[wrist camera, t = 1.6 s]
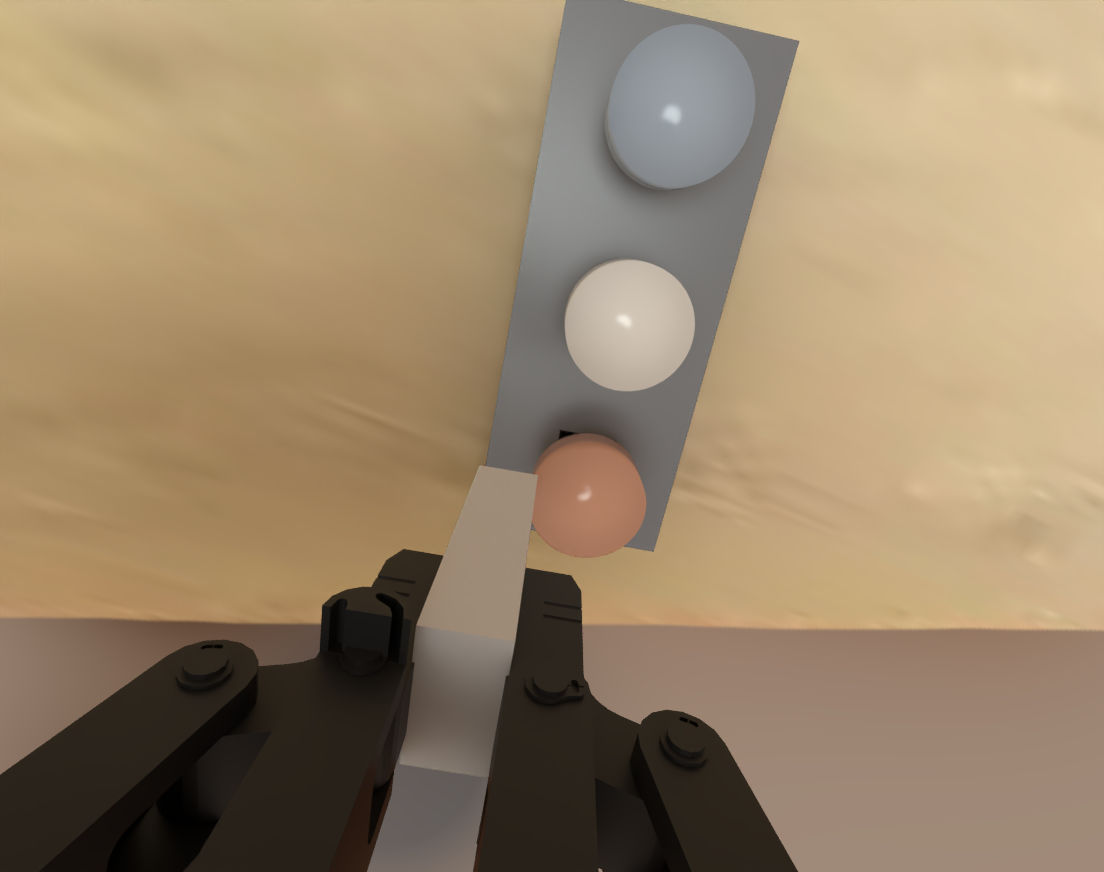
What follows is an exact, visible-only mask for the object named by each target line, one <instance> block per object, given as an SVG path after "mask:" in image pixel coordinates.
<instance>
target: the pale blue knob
mask: <svg viewBox="0 0 1104 872" xmlns="http://www.w3.org/2000/svg"><path fill="white" fill-rule="evenodd" d="M754 112H755V88H754V81H753V78H752V74H751V71H750V68H749V66H748V64H747V61H746V60H745V58H744V56H743V55H742V53H741V52H740V50H739V49H738V48H737V47H736V45H735V44H734V43H733V42H732V41H730V40H729V39H728V38H727V37H726V36H724V35H723V34H721V33H720V32H718V31H716V30H714V29H712V28H709V27H705V26H702V25H696V24H680V25H673V26H670V27H667V28H663V29H661V30H659V31H657V32H655V33H653V34H651V35H650V36H648V37H647V38H645V39H644V40H643V41H642V42H641V43H639V44H638V45H637V46H636V47H635V48H634V49H633V50H632V52H631V53H630V54H629V55H628V57H627V58H626V60H625V61H624V62H623V64H622V66H621V68H620V70H619V72H618V74H617V77H616V79H615V82H614V84H613V87H612V89H611V92H610V94H609V97H608V101H607V105H606V111H605V135H606V139H607V144H608V147H609V149H610V152H611V154H612V156H613V158H614V160H615V162H616V163H617V165H618V166H619V168H620V169H621V170H622V171H623V172H624V173H625V174H626V175H627V176H628V177H629V178H631V179H632V180H633V181H635V182H636V183H638V184H640V185H642V186H644V187H647V188H650V189H654V190H661V191H672V190H679V189H682V188H686V187H689V186H692V185H695V184H699V183H701V182H704V181H706V180H708V179H710V178H712V177H713V176H715V175H717V174H718V173H719V172H721V171H722V170H723V169H725V168H726V167H727V166H728V165H729V164H730V163H731V162H732V161H733V159H734V158H735V157H736V156H737V154H738V153H739V152H740V150H741V148H742V147H743V145H744V143H745V141H746V139H747V137H748V135H749V132H750V129H751V126H752V122H753V118H754Z"/></svg>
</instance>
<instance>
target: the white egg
mask: <svg viewBox="0 0 1104 872" xmlns="http://www.w3.org/2000/svg"><path fill="white" fill-rule="evenodd" d="M564 325H565V336H566V342H567V346H568V350H569V352H570V355H571V357H572V359H573V360H574V362H575V364H576V365H577V367H578V368H579V369H580V370H581V371H582V372H583V373H584V374H585V375H586V376H587V377H588V378H589V379H591V380H592V381H593V382H595V383H597V384H599V385H601V386H603V387H606V388H609V389H612V390H617V391H638V390H643V389H646V388H649V387H652V386H654V385H657V384H658V383H660V382H662V381H664V380H665V379H666V378H668V377H669V376H670V375H672V374H673V373H674V372H675V371H676V370H677V369H678V367H679V366H680V365H681V364H682V362H683V361H684V359H685V358H686V356H687V354H688V352H689V350H690V347H691V345H692V342H693V337H694V332H695V315H694V310H693V306H692V303H691V300H690V298H689V296H688V294H687V292H686V290H685V289H684V287H683V286H682V284H681V283H680V282H679V281H678V280H677V279H676V278H675V277H674V276H673V275H671V274H670V273H669V272H667V271H666V270H664V269H662V268H660V267H658V266H656V265H653V264H651V263H648V262H645V261H642V260H638V259H631V258H621V259H614V260H610V261H606V262H604V263H602V264H599V265H597V266H596V267H594V268H592V269H591V270H590V271H588V272H587V273H586V274H585V275H584V276H583V277H582V278H581V279H580V280H579V281H578V282H577V284H576V285H575V286H574V288H573V290H572V292H571V293H570V296H569V298H568V301H567V305H566V308H565V316H564Z"/></svg>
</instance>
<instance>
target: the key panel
mask: <svg viewBox="0 0 1104 872" xmlns="http://www.w3.org/2000/svg"><path fill="white" fill-rule="evenodd" d="M680 24H696V25H702V26H705V27H709V28H712V29H714V30H716V31H718V32H720V33H721V34H723V35H724V36H726V37H727V38H728V39H729V40H730V41H732V42H733V43H734V44H735V45H736V47H737V48H738V49H739V50H740V52H741V53H742V55H743V56H744V58H745V60H746V61H747V64H748V66H749V68H750V71H751V74H752V78H753V81H754V88H755V112H754V118H753V122H752V126H751V129H750V132H749V135H748V137H747V139H746V141H745V143H744V145H743V147H742V148H741V150H740V152H739V153H738V154H737V156H736V157H735V158H734V159H733V161H732V162H731V163H730V164H729V165H728V166H727V167H726V168H725V169H723V170H722V171H721V172H719V173H718V174H717V175H715V176H713V177H712V178H710V179H708V180H706V181H704V182H701V183H699V184H695V185H692V186H689V187H686V188H682V189H679V190H672V191H661V190H654V189H650V188H647V187H644V186H642V185H640V184H638V183H636V182H635V181H633V180H632V179H631V178H629V177H628V176H627V175H626V174H625V173H624V172H623V171H622V170H621V169H620V168H619V166H618V165H617V163H616V162H615V160H614V158H613V156H612V154H611V152H610V149H609V147H608V144H607V139H606V135H605V111H606V105H607V101H608V97H609V94H610V92H611V89H612V87H613V84H614V82H615V79H616V77H617V74H618V72H619V70H620V68H621V66H622V64H623V62H624V61H625V60H626V58H627V57H628V55H629V54H630V53H631V52H632V50H633V49H634V48H635V47H636V46H637V45H638V44H639V43H641V42H642V41H643V40H644V39H645V38H647V37H648V36H650V35H651V34H653V33H655V32H657V31H659V30H661V29H663V28H667V27H670V26H673V25H680ZM798 44H799V41H797V40H793V39H788V38H784V37H780V36H775V35H771V34H767V33H762V32H758V31H754V30H749V29H745V28H741V27H736V26H732V25H728V24H723V23H719V22H715V21H710V20H706V19H702V18H697V17H693V16H689V15H684V14H680V13H676V12H672V11H667V10H663V9H659V8H654V7H650V6H646V5H641V4H637V3H633V2H628V1H624V0H566V3H565V8H564V14H563V20H562V26H561V32H560V37H559V43H558V49H557V55H556V60H555V66H554V72H553V78H552V84H551V89H550V95H549V101H548V107H547V113H546V118H545V124H544V130H543V136H542V141H541V147H540V153H539V159H538V165H537V170H536V176H535V182H534V188H533V194H532V199H531V205H530V211H529V217H528V223H527V228H526V234H525V240H524V246H523V251H522V257H521V263H520V269H519V275H518V280H517V286H516V292H515V298H514V304H513V309H512V315H511V321H510V327H509V333H508V338H507V344H506V350H505V356H504V361H503V367H502V373H501V379H500V385H499V390H498V396H497V402H496V408H495V414H494V419H493V425H492V431H491V437H490V443H489V448H488V454H487V460H486V466H488V467H494V468H500V469H505V470H511V471H517V472H523V473H529V474H532V473H533V469H534V467H535V464H536V462H537V460H538V459H539V457H540V456H541V454H542V453H543V452H544V451H545V450H546V449H547V448H548V447H549V446H550V445H552V444H553V443H555V442H556V441H558V440H560V439H562V438H563V437H564V436H565V435H566V434H567V433H568V432H574V433H580V434H581V433H591V434H598V435H602V436H605V437H608V438H610V439H612V440H614V441H616V442H617V443H619V444H620V445H621V446H623V447H624V448H625V449H626V450H627V451H628V453H629V454H630V455H631V457H632V458H633V460H634V462H635V464H636V467H637V469H638V472H639V475H640V478H641V481H642V484H643V487H644V491H645V495H646V512H645V517H644V520H643V523H642V525H641V527H640V529H639V530H638V532H637V533H636V535H635V536H634V537H633V538H632V539H631V540H630V541H629V542H628V543H627V544H626V545H624V547H630V548H635V549H641V550H647V551H652V552H654V548H655V545H656V541H657V538H658V534H659V531H660V527H661V524H662V520H663V517H664V513H665V510H666V506H667V503H668V499H669V496H670V492H671V489H672V485H673V482H674V478H675V475H676V471H677V468H678V464H679V461H680V457H681V454H682V450H683V447H684V443H685V440H686V436H687V433H688V429H689V426H690V422H691V419H692V415H693V412H694V408H695V405H696V401H697V398H698V394H699V391H700V387H701V384H702V380H703V377H704V373H705V370H706V366H707V363H708V359H709V356H710V352H711V349H712V345H713V342H714V338H715V335H716V331H717V328H718V324H719V321H720V317H721V314H722V310H723V307H724V303H725V300H726V296H727V293H728V289H729V286H730V282H731V279H732V275H733V272H734V268H735V265H736V261H737V258H738V254H739V251H740V247H741V244H742V240H743V237H744V233H745V230H746V226H747V223H748V219H749V216H750V212H751V209H752V205H753V202H754V198H755V195H756V191H757V188H758V184H759V181H760V177H761V174H762V170H763V166H764V163H765V159H766V156H767V152H768V149H769V145H770V142H771V138H772V135H773V131H774V128H775V124H776V121H777V117H778V114H779V110H780V107H781V103H782V100H783V96H784V93H785V89H786V86H787V82H788V79H789V75H790V72H791V68H792V65H793V61H794V58H795V54H796V51H797V47H798ZM621 258H631V259H638V260H642V261H645V262H648V263H651V264H653V265H656V266H658V267H660V268H662V269H664V270H666V271H667V272H669V273H670V274H671V275H673V276H674V277H675V278H676V279H677V280H678V281H679V282H680V283H681V284H682V286H683V287H684V289H685V290H686V292H687V294H688V296H689V298H690V300H691V303H692V306H693V310H694V315H695V332H694V337H693V342H692V345H691V347H690V350H689V352H688V354H687V356H686V358H685V359H684V361H683V362H682V364H681V365H680V366H679V367H678V369H677V370H676V371H675V372H674V373H673V374H672V375H670V376H669V377H668V378H666V379H665V380H664V381H662V382H660V383H658V384H657V385H654V386H652V387H649V388H646V389H643V390H638V391H617V390H612V389H609V388H606V387H603V386H601V385H599V384H597V383H595V382H593V381H592V380H591V379H589V378H588V377H587V376H586V375H585V374H584V373H583V372H582V371H581V370H580V369H579V368H578V367H577V365H576V364H575V362H574V360H573V359H572V357H571V355H570V352H569V350H568V346H567V342H566V336H565V325H564V316H565V308H566V305H567V301H568V298H569V296H570V293H571V292H572V290H573V288H574V286H575V285H576V284H577V282H578V281H579V280H580V279H581V278H582V277H583V276H584V275H585V274H586V273H587V272H588V271H590V270H591V269H592V268H594V267H596V266H597V265H599V264H602V263H604V262H606V261H610V260H614V259H621ZM531 530H535V531H536V529H535V527H534V525H533V523H531Z"/></svg>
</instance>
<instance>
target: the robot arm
mask: <svg viewBox="0 0 1104 872" xmlns="http://www.w3.org/2000/svg"><path fill="white" fill-rule="evenodd" d="M537 479H538V475H534V474H529V473H523V472H517V471H511V470H505V469H500V468H494V467H488V466H482V465H479V468H478V470H477V473H476V475H475V478H474V480H473V483H472V486H471V488H470V491H469V493H468V496H467V498H466V501H465V503H464V506H463V508H462V511H461V513H460V516H459V518H458V521H457V523H456V526H455V529H454V531H453V534H452V536H451V539H450V541H449V544H448V546H447V549H446V551H445V554H444V556H442V555H436V554H430V553H424V552H418V551H412V550H406V549H403V550H401V551H400V552H398V553H397V554H395V555H394V556H392V557H391V558H389V559H388V560H386V562H385V564H384V565H383V567H382V569H381V571H380V573H379V574H378V578H376V580H375V581H374V583H373V585H372V587H359V588H353V589H348V590H345V591H343V592H340V593H338V594H336V595H334V596H332V597H331V598H330V599H329V600H328V601H327V602H325V603H324V604H323V605H322V621H321V638H320V652H319V653H318V655H317V657H316V658H314V659H311V660H307V661H304V662H299V663H292V664H284V665H270V666H258V659H257V657H256V655H255V653H254V652H253V650H252V649H250V648H248V647H247V646H245V645H244V644H242V643H239V642H233V641H228V640H212V641H203V642H199V643H195V644H192V645H188V646H185V647H183V648H181V649H179V650H177V651H175V652H173V653H172V654H170V655H168V656H166V657H165V658H163V659H162V660H161V661H159V662H158V663H156V664H155V665H154V666H152V667H151V668H149V669H148V670H147V671H145V672H144V673H142V674H141V675H140V676H138V677H137V678H135V679H134V680H133V681H131V682H130V683H129V684H127V685H125V686H124V687H123V688H121V689H120V690H119V691H117V692H116V693H114V694H113V695H111V696H110V697H109V698H107V699H106V700H104V701H103V702H102V703H100V704H99V705H98V706H96V707H95V708H93V709H92V710H90V711H89V712H88V713H86V714H85V715H83V716H82V717H81V718H79V719H78V720H77V721H75V722H74V723H72V724H71V725H70V726H68V727H67V728H65V729H64V730H62V731H61V732H60V733H58V734H57V735H55V736H54V737H53V738H51V739H50V740H49V741H47V742H46V743H44V744H43V745H41V746H40V747H38V748H37V749H36V750H34V751H33V752H32V753H30V754H29V755H27V756H26V757H25V758H23V759H22V760H20V761H19V762H17V763H16V764H15V765H13V766H12V767H11V768H9V769H8V770H6V771H5V772H3V773H2V774H1V775H0V872H367V869H368V867H369V863H370V860H371V857H372V854H373V850H374V848H375V844H376V841H377V838H378V835H379V832H380V829H381V825H382V822H383V819H384V816H385V813H386V810H387V807H388V803H389V800H390V797H391V794H392V793H391V792H392V784H393V776H394V769H395V766H396V763H397V760H398V757H399V754H400V751H401V758H400V764H403V765H410V766H417V767H423V768H429V769H435V770H441V771H447V772H454V773H460V774H466V775H473V776H479V777H485V778H488V784H487V789H486V795H485V800H484V806H483V811H482V817H481V822H480V827H479V833H478V838H477V850H476V856H475V863H474V869H473V872H598V868H600V869H602V871H603V872H798V871H797V869H796V868H795V866H794V864H793V862H792V860H791V859H790V857H789V855H788V853H787V851H786V850H785V848H784V846H783V844H782V843H781V841H780V839H779V837H778V836H777V834H776V833H775V831H774V829H773V827H772V825H771V823H770V822H769V820H768V818H767V816H766V815H765V813H764V811H763V809H762V808H761V806H760V804H759V802H758V801H757V799H756V797H755V795H754V793H753V792H752V790H751V788H750V786H749V785H748V783H747V781H746V780H745V778H744V776H743V774H742V773H741V771H740V769H739V767H738V766H737V764H736V762H735V760H734V758H733V757H732V755H731V753H730V751H729V750H728V748H727V746H726V744H725V743H724V742H723V740H722V739H721V738H720V737H719V735H718V734H717V733H716V732H715V730H714V729H712V728H711V727H710V726H708V725H707V724H706V723H704V722H703V721H702V720H700V719H698V718H696V717H693V716H691V715H688V714H686V713H684V712H679V711H672V710H663V711H658V712H653V713H651V714H650V715H649V716H647V717H646V718H645V719H643V720H642V722H641V725H640V724H638V723H636V722H633V721H631V720H629V719H626V718H624V717H622V716H619V715H618V714H616V713H614V712H612V711H610V710H608V709H607V708H606V707H604V706H603V705H602V704H600V703H599V702H598V701H597V700H596V699H595V698H594V696H593V695H592V694H591V692H590V689H589V685H588V682H587V681H586V680H585V679H584V674H583V639H582V610H581V608H582V603H581V590H580V588H579V587H578V585H577V584H576V582H575V581H574V579H573V578H572V576H571V575H565V574H560V573H554V572H548V571H542V570H536V569H530V568H525V567H526V559H527V552H528V545H529V537H530V530H531V523H532V515H533V508H534V501H535V494H536V486H537ZM401 748H402V749H401Z"/></svg>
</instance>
